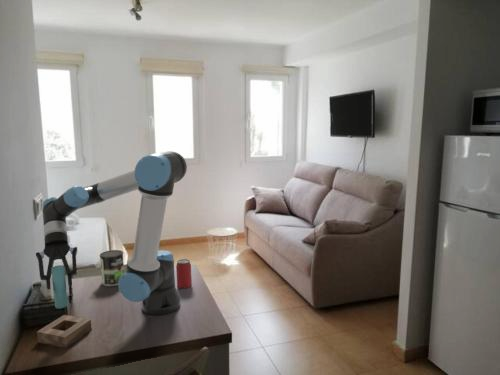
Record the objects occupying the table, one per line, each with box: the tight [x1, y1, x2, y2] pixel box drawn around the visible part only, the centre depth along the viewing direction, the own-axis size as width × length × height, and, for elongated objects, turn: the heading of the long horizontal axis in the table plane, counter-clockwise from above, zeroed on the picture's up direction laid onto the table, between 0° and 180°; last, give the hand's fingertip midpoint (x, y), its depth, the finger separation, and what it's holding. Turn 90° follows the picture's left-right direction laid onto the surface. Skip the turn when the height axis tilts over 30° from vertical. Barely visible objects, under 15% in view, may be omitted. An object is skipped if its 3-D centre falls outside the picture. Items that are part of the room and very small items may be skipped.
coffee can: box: [99, 249, 125, 287], centre depth 175 cm, size 10×10×14 cm
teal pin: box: [51, 264, 69, 309], centre depth 128 cm, size 4×4×14 cm
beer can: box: [175, 258, 193, 290], centre depth 170 cm, size 7×7×12 cm
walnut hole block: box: [36, 314, 92, 349], centre depth 131 cm, size 12×12×4 cm
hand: (60, 295), depth 125 cm, fingers closed on teal pin, 4 cm apart
